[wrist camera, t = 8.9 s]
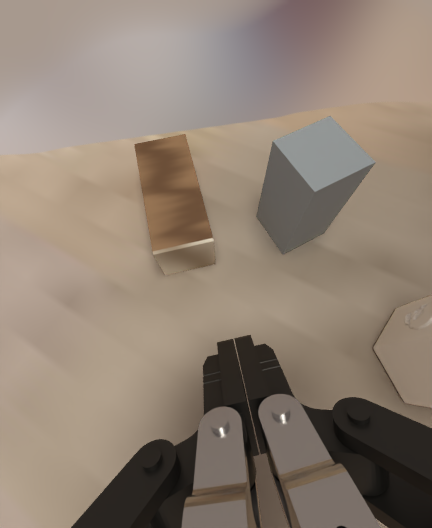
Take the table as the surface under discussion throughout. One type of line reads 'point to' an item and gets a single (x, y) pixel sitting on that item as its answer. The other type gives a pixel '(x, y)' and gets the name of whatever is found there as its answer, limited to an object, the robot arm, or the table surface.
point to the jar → (409, 351)
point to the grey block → (309, 182)
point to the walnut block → (174, 205)
